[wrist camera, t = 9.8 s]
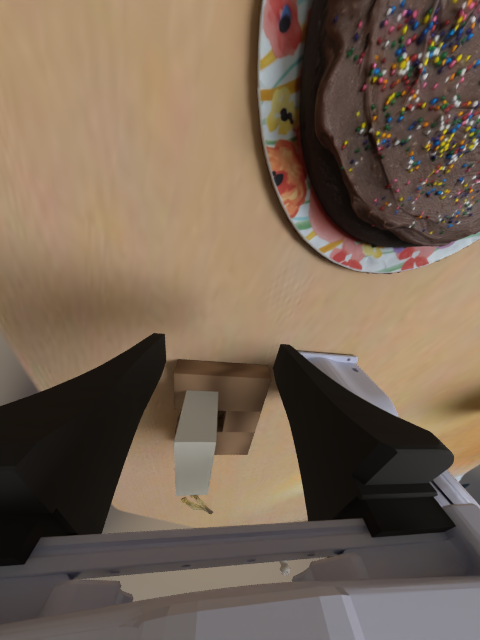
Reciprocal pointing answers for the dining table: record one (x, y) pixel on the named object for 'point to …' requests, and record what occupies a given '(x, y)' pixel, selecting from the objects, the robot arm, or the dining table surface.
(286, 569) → the rook chess piece
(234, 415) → the notched shelf
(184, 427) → the grey rubber bar
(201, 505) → the tongs
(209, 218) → the dining table surface
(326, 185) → the chocolate cake
